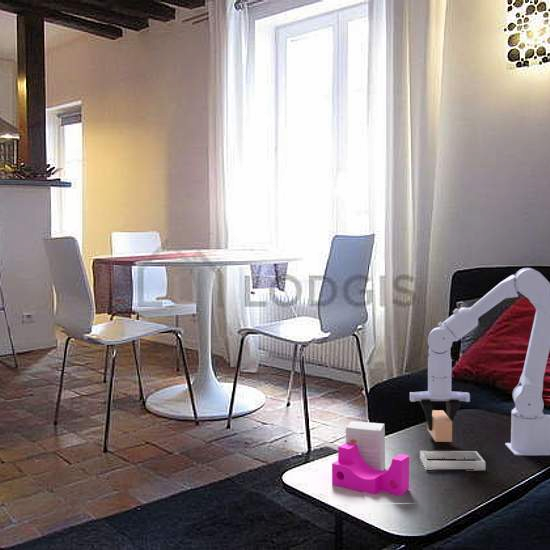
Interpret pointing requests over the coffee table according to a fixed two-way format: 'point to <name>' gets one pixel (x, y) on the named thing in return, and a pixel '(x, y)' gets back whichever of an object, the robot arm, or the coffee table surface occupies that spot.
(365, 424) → the small box
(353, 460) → the toy block
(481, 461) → the gray rectangular tray
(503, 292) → the robot arm
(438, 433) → the peach rectangular prism
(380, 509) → the coffee table surface
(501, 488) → the coffee table surface
